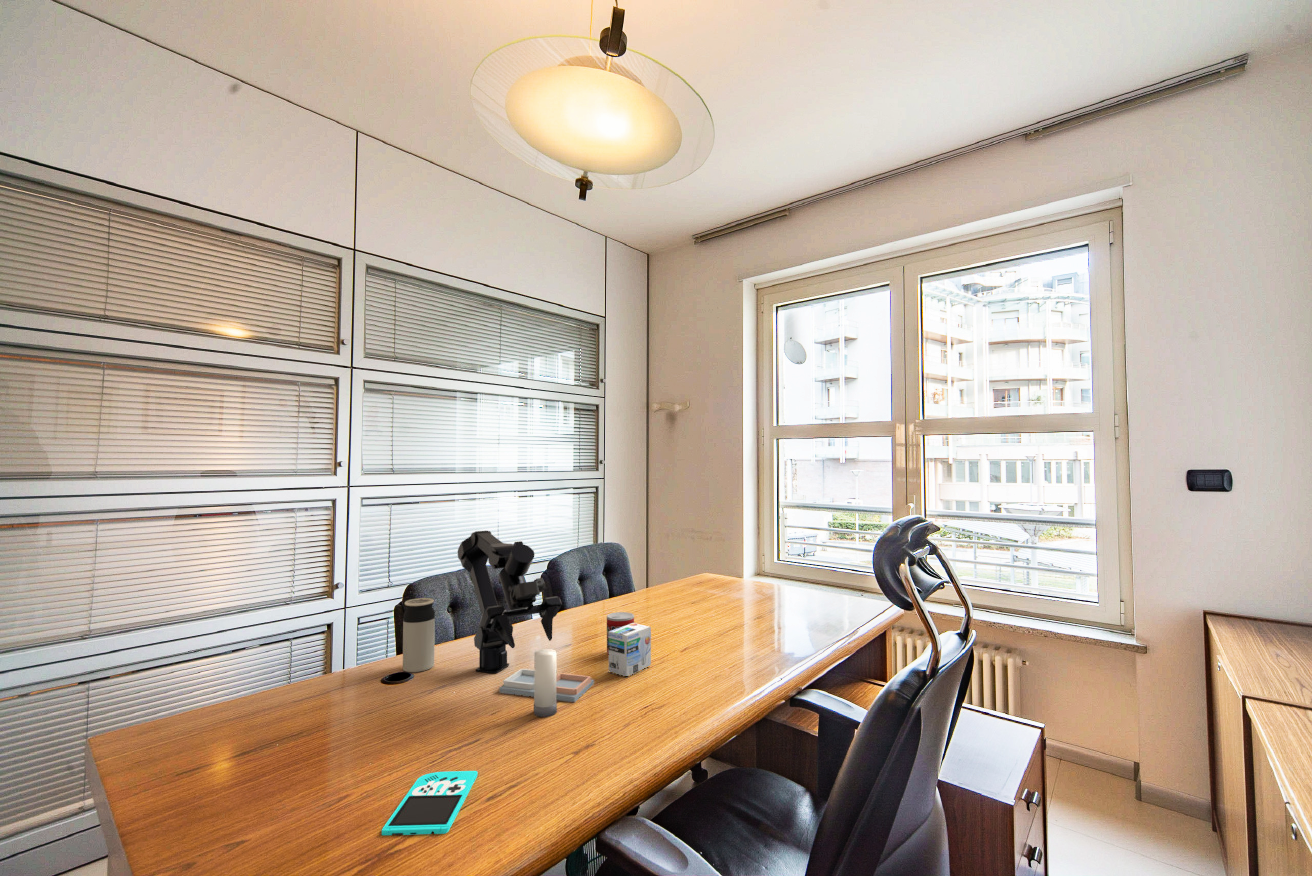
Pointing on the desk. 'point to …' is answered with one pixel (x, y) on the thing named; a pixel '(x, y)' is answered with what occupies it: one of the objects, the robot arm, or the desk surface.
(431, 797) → the handheld game console
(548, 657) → the white cylinder
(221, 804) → the desk surface
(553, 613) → the robot arm
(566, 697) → the socket board
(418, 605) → the travel mug
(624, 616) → the canned food
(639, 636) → the light bulb box
